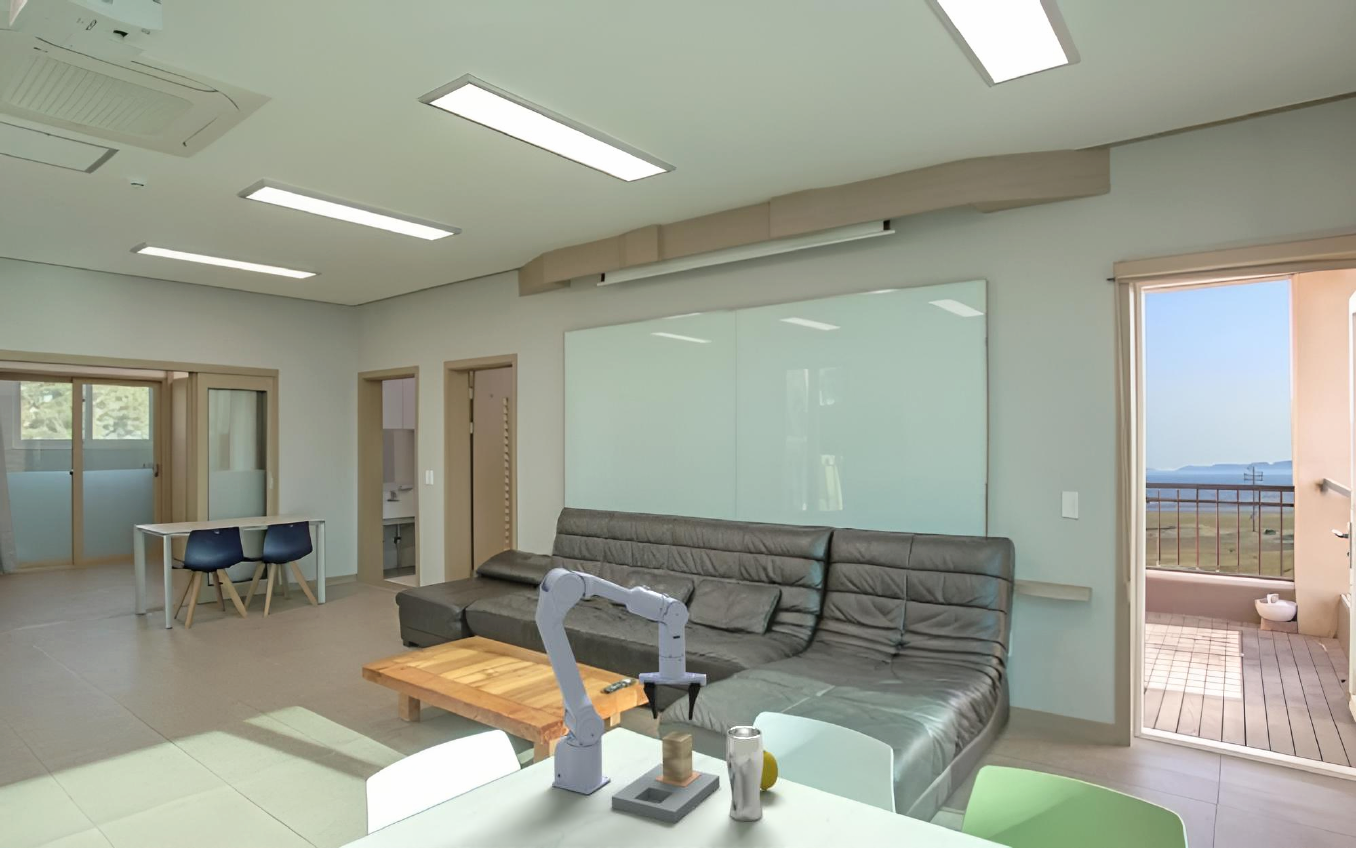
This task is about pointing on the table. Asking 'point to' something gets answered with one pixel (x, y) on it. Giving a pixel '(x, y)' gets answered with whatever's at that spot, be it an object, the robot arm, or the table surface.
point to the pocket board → (665, 794)
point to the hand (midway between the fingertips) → (673, 718)
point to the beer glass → (745, 771)
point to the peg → (677, 756)
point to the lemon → (768, 771)
